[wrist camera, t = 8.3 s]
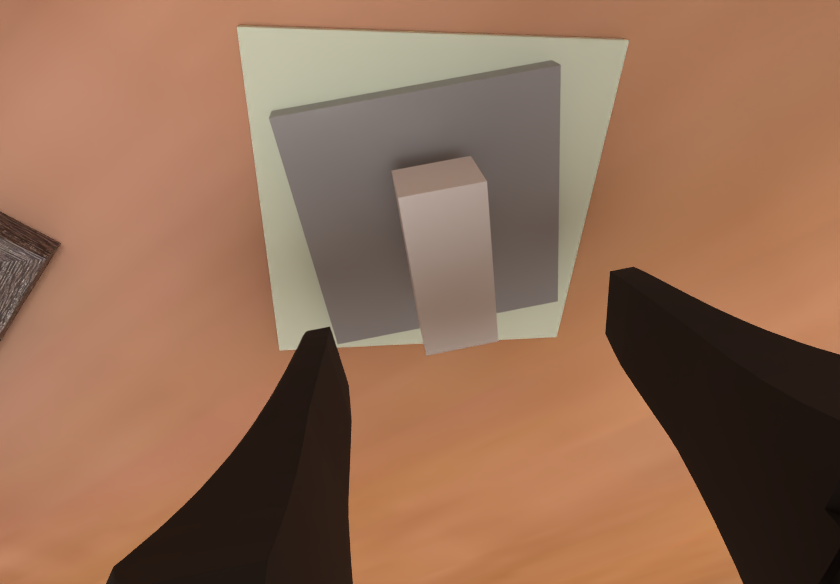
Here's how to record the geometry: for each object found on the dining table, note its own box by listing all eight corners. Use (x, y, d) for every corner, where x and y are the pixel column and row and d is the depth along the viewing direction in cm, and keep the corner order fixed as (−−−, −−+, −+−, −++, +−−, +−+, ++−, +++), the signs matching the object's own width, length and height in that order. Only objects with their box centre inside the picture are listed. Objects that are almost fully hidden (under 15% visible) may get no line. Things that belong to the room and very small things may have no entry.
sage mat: (623, 38, 17) (629, 40, 16) (553, 331, 23) (556, 337, 23) (239, 25, 15) (236, 26, 15) (280, 344, 22) (279, 350, 21)
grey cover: (552, 60, 17) (612, 92, 13) (550, 290, 22) (594, 360, 18) (271, 110, 16) (252, 158, 13) (337, 332, 21) (337, 411, 18)
